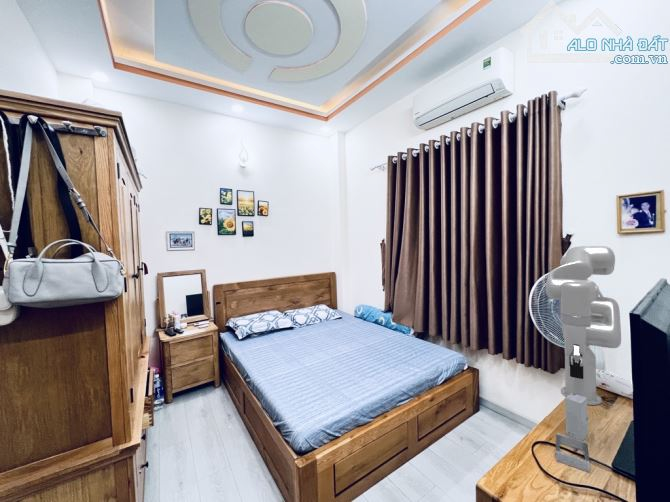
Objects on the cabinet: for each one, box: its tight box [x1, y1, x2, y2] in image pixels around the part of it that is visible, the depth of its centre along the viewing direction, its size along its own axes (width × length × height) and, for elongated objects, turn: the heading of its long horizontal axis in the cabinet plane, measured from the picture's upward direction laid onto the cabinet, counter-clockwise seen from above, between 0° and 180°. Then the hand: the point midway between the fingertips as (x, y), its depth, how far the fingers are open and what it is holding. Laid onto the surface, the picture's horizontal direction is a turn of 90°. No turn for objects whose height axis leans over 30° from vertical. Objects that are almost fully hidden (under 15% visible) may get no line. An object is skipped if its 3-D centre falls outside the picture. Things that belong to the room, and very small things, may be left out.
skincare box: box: [564, 393, 589, 441], centre depth 94 cm, size 6×4×12 cm
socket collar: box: [555, 432, 591, 473], centre depth 85 cm, size 11×7×2 cm
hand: (576, 372), depth 93 cm, fingers open, 9 cm apart
